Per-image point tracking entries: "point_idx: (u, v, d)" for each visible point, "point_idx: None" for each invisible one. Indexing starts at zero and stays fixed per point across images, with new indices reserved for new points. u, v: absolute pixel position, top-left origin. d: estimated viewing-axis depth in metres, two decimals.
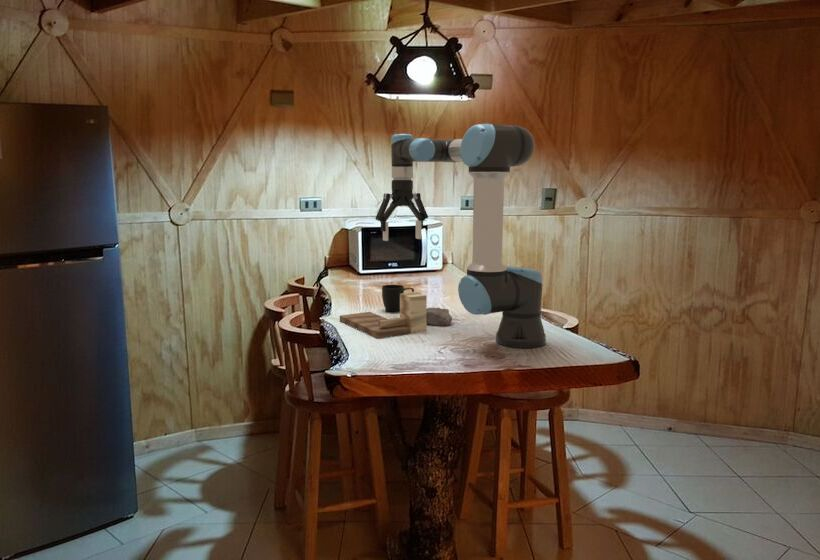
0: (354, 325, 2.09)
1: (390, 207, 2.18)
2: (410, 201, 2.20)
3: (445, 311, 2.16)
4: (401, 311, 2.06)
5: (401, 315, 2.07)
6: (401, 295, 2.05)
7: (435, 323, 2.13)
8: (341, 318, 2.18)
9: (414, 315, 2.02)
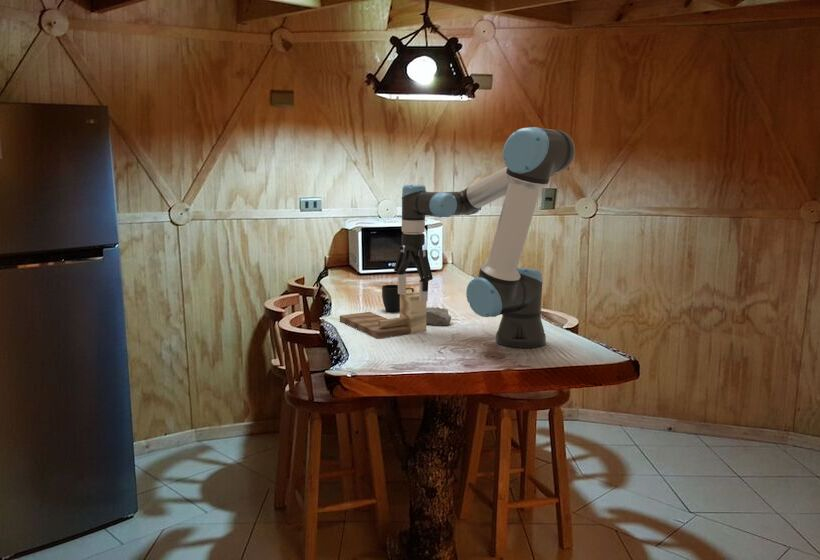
0: (354, 325, 2.09)
1: None
2: (412, 257, 2.00)
3: (444, 311, 2.17)
4: (401, 311, 2.06)
5: (401, 315, 2.07)
6: (401, 295, 2.05)
7: (434, 323, 2.13)
8: (341, 318, 2.18)
9: (414, 315, 2.02)
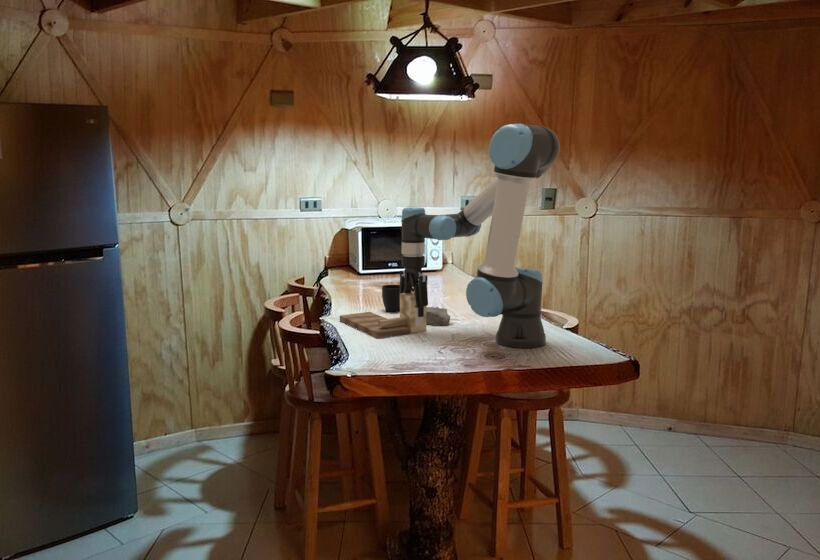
0: (354, 325, 2.09)
1: None
2: (411, 280, 2.02)
3: (443, 311, 2.17)
4: (401, 311, 2.06)
5: (401, 315, 2.07)
6: (401, 295, 2.05)
7: (433, 322, 2.14)
8: (341, 318, 2.18)
9: (414, 315, 2.02)
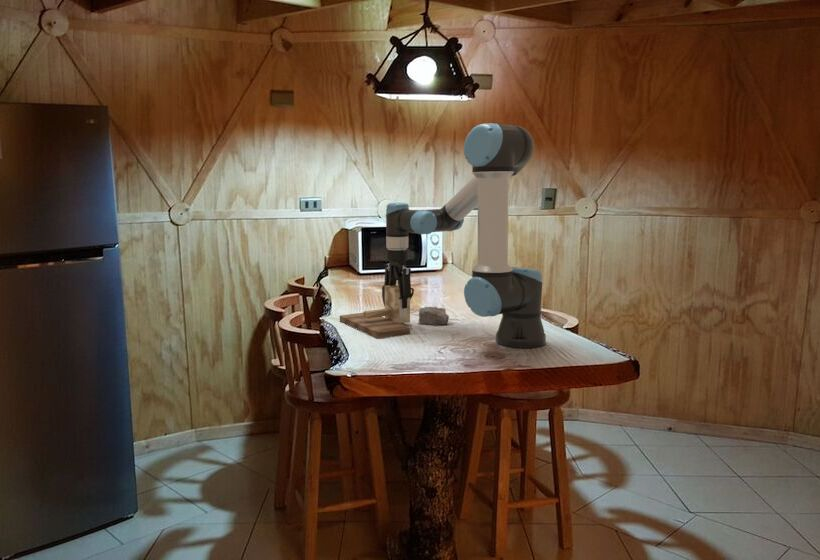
0: (354, 325, 2.09)
1: None
2: (395, 273, 2.09)
3: (442, 310, 2.18)
4: (386, 303, 2.14)
5: (386, 307, 2.14)
6: (386, 287, 2.13)
7: (432, 322, 2.14)
8: (341, 318, 2.18)
9: (398, 306, 2.10)
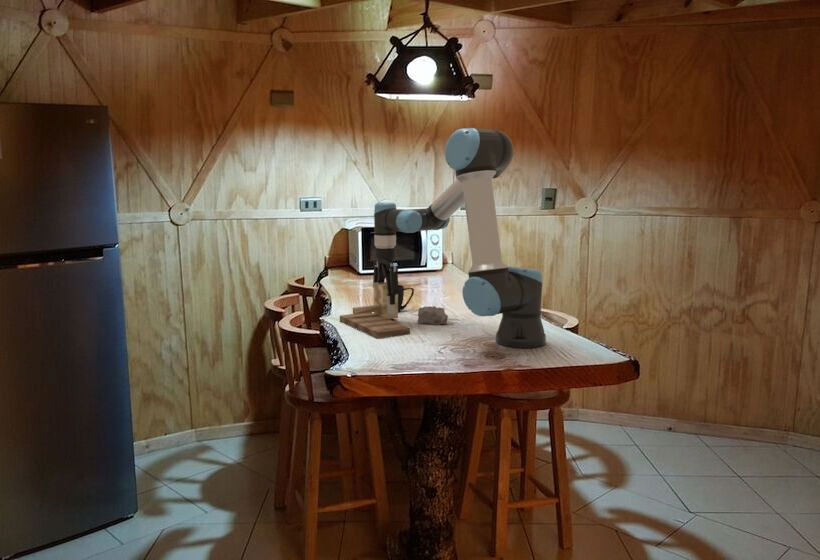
0: (354, 325, 2.09)
1: None
2: (383, 270, 2.16)
3: (441, 310, 2.18)
4: (374, 299, 2.21)
5: (374, 303, 2.21)
6: (374, 284, 2.20)
7: (431, 322, 2.15)
8: (341, 318, 2.18)
9: (386, 303, 2.17)
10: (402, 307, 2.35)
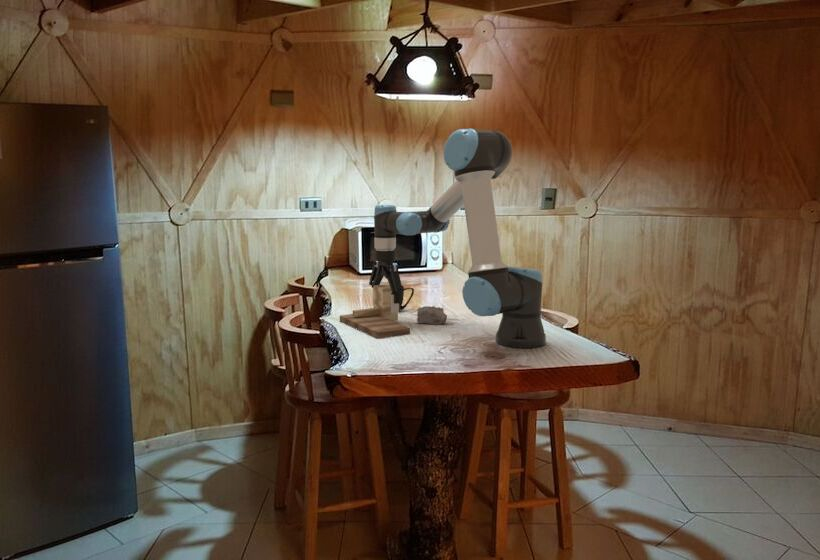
0: (354, 325, 2.09)
1: None
2: (384, 272, 2.16)
3: (440, 310, 2.18)
4: (374, 302, 2.21)
5: (374, 306, 2.21)
6: (374, 287, 2.20)
7: (430, 322, 2.15)
8: (341, 318, 2.18)
9: (386, 305, 2.17)
10: (402, 307, 2.35)
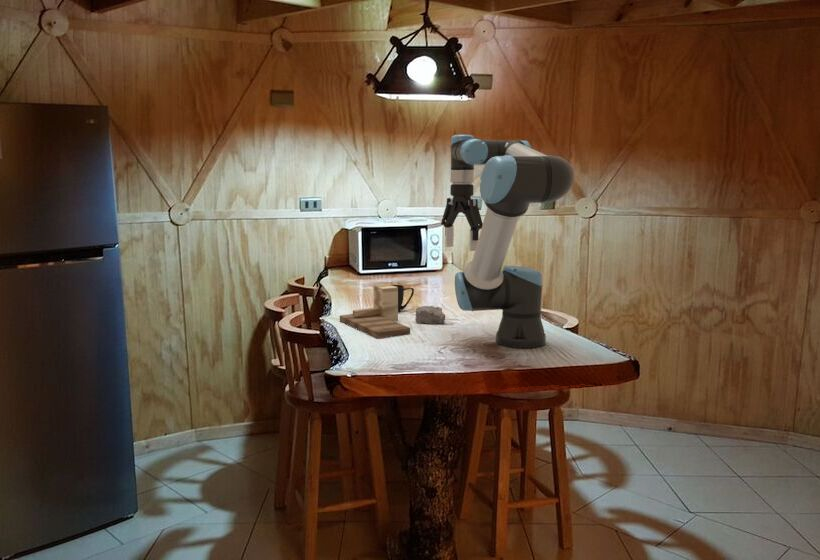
0: (354, 325, 2.09)
1: None
2: (461, 207, 2.01)
3: (438, 309, 2.19)
4: (374, 302, 2.21)
5: (374, 306, 2.21)
6: (374, 287, 2.20)
7: (429, 321, 2.16)
8: (341, 318, 2.18)
9: (386, 305, 2.17)
10: (402, 307, 2.35)
